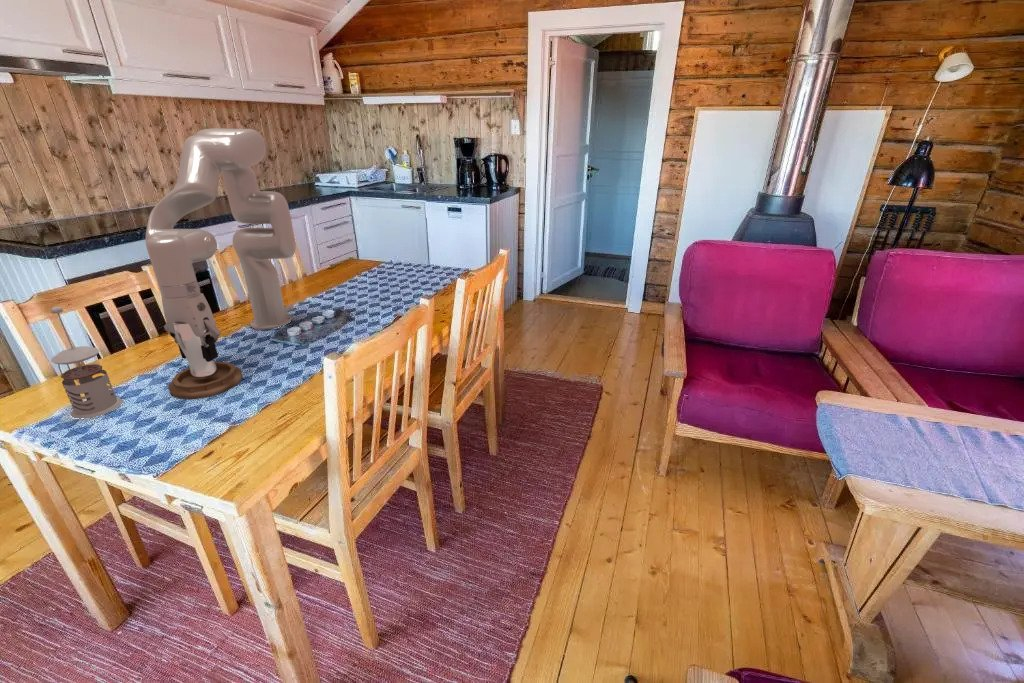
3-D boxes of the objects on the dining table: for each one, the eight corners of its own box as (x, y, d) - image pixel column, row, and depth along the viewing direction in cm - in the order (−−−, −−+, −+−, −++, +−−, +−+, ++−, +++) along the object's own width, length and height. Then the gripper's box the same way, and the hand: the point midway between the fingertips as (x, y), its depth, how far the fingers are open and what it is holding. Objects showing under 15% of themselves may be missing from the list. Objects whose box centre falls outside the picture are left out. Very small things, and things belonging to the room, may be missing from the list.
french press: (87, 423, 104) (41, 317, 94) (54, 413, 107) (6, 310, 97) (133, 401, 112) (96, 302, 102) (101, 392, 116) (62, 296, 106)
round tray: (206, 365, 129) (204, 356, 128) (256, 372, 126) (254, 363, 125) (153, 394, 115) (150, 384, 114) (208, 403, 112) (205, 393, 111)
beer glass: (226, 368, 123) (212, 314, 116) (208, 381, 116) (191, 325, 110) (201, 366, 123) (185, 313, 117) (182, 379, 117) (164, 323, 111)
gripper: (223, 287, 112) (241, 355, 119) (164, 282, 116) (184, 348, 123) (197, 297, 105) (217, 368, 113) (135, 291, 109) (159, 360, 116)
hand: (200, 357), depth 118 cm, fingers closed on beer glass, 6 cm apart
